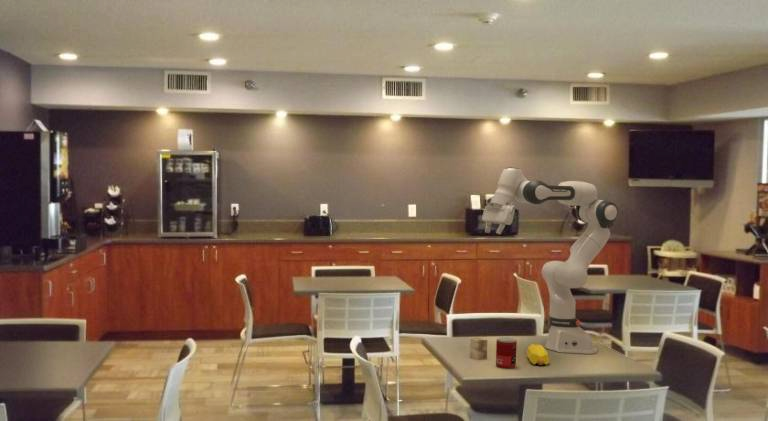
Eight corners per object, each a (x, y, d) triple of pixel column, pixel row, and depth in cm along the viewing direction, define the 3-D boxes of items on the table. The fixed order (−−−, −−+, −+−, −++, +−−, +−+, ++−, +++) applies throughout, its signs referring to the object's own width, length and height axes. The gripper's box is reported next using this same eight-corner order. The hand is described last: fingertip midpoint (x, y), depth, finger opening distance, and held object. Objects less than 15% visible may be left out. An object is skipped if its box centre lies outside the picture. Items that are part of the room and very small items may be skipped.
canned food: (515, 369, 297) (516, 341, 297) (495, 367, 299) (496, 340, 299) (516, 364, 305) (517, 337, 304) (496, 363, 306) (497, 336, 306)
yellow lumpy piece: (543, 357, 320) (525, 356, 321) (544, 341, 320) (525, 341, 321) (550, 367, 303) (531, 366, 303) (551, 351, 302) (531, 350, 303)
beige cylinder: (479, 356, 319) (480, 337, 319) (486, 358, 314) (487, 339, 314) (470, 357, 316) (470, 338, 316) (477, 359, 312) (477, 340, 312)
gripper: (521, 205, 316) (511, 237, 315) (496, 204, 335) (486, 234, 334) (509, 200, 314) (498, 232, 313) (484, 199, 333) (475, 229, 332)
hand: (492, 233), depth 323 cm, fingers open, 8 cm apart
